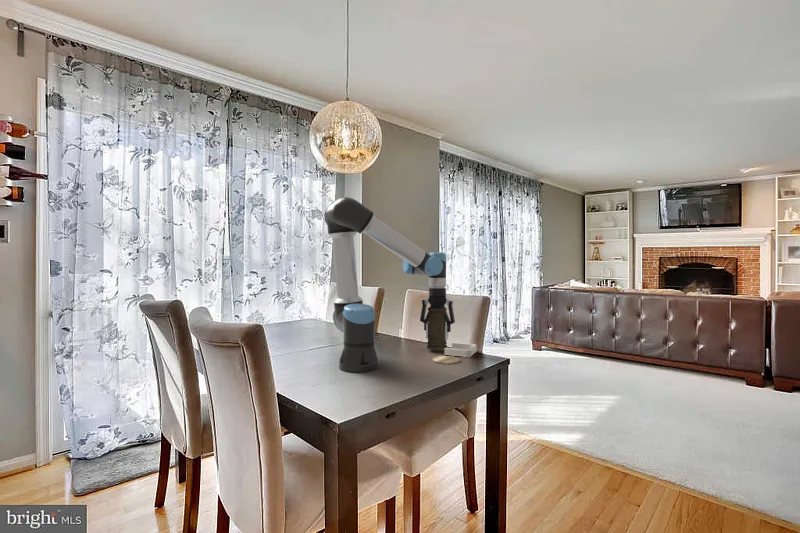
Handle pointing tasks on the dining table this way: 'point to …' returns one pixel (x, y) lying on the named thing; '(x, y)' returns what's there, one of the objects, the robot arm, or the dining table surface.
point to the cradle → (461, 349)
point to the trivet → (446, 359)
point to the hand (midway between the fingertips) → (437, 338)
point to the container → (436, 329)
